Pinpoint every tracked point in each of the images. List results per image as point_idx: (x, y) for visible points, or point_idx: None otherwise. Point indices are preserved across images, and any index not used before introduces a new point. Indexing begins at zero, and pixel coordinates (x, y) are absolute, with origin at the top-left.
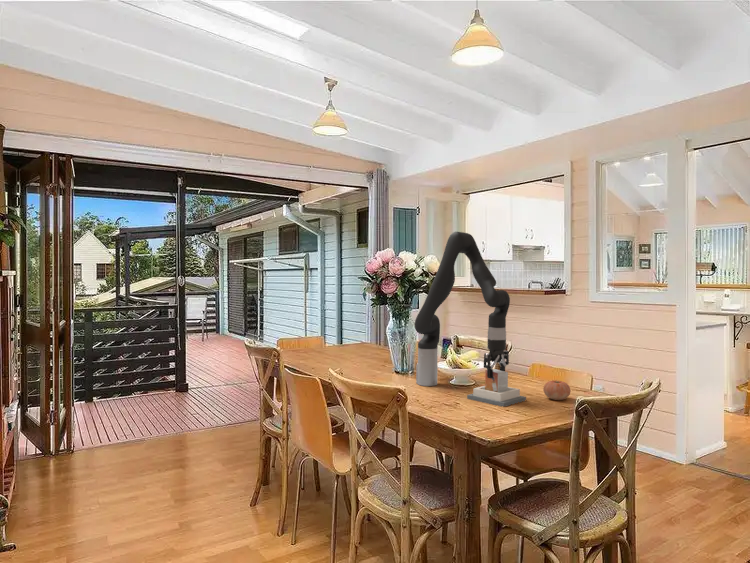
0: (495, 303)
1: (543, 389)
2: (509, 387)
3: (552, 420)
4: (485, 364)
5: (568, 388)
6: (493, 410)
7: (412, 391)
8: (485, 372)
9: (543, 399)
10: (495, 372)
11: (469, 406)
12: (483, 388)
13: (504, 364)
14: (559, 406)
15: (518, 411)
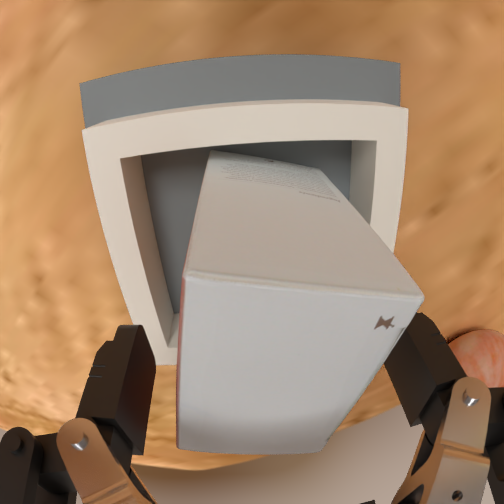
0: None
1: (459, 359)
2: None
3: (182, 458)
4: (21, 477)
5: None
6: (73, 344)
7: None
8: (189, 246)
9: None
10: (180, 432)
11: (6, 242)
12: (203, 144)
13: (423, 458)
14: (353, 412)
15: (161, 396)
